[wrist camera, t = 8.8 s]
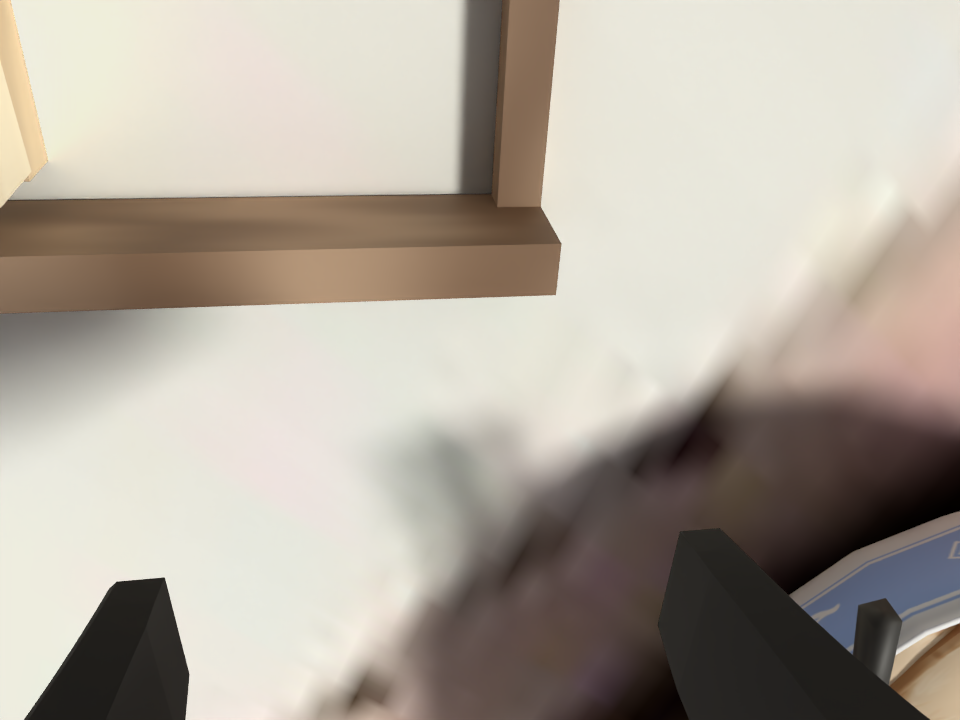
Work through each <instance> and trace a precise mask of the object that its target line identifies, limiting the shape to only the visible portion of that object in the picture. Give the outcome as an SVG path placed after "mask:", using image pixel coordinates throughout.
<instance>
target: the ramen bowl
mask: <svg viewBox="0 0 960 720" xmlns="http://www.w3.org/2000/svg"><path fill="white" fill-rule="evenodd" d="M789 596H790V597H791V598H792V599H793V600H794V601H795V602H796V603H797V604H798V605H799V606H800V607H801V608H802V609H803V610H804V611H806V612H807V613H808V614H809V615H810V616H811V617H812V618H813V619H814V620H815V621H816V622H817V623H818V624H820V625H821V626H822V627H823V628H824V629H825V630H826V631H827V632H828V633H829V634H830V635H832V636H833V637H834V638H835V639H836V640H837V641H838V642H839V643H840V644H841V645H842V646H844V647H845V648H846V649H847V650H848V651H849V652H850V653H851V654H852V655H854V656H855V657H856V658H857V659H858V660H859V661H860V662H862V663H863V664H864V665H865V666H866V667H867V668H868V669H869V670H871V671H872V672H873V673H874V674H875V675H877V676H878V677H879V678H880V679H881V680H883V681H884V682H885V683H886V684H887V685H889V686H890V687H891V688H892V689H893V690H895V691H896V692H897V693H898V694H899V695H901V696H902V697H903V698H904V699H905V700H907V701H908V702H909V703H910V704H911V705H913V706H914V707H915V708H916V709H918V710H919V711H920V712H921V713H923V714H924V715H925V716H926V717H928V718H929V719H930V720H960V511H959V512H955V513H952V514H948V515H945V516H942V517H939V518H937V519H934V520H932V521H929V522H927V523H924V524H922V525H919V526H916V527H914V528H911V529H909V530H906V531H904V532H901V533H899V534H896V535H894V536H891V537H889V538H886V539H884V540H881V541H878V542H876V543H873V544H871V545H868V546H866V547H863V548H861V549H858V550H856V551H853V552H852V553H850V554H849V555H847V556H846V557H844V558H843V559H841V560H840V561H838V562H837V563H835V564H834V565H833V566H831V567H830V568H828V569H827V570H825V571H824V572H822V573H821V574H819V575H818V576H816V577H815V578H813V579H812V580H810V581H809V582H808V583H806V584H805V585H803V586H802V587H800V588H799V589H797V590H796V591H794V592H793V593H791V594H790V595H789Z"/></svg>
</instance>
